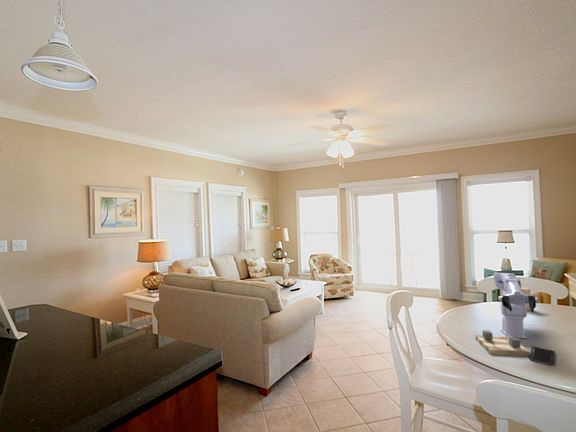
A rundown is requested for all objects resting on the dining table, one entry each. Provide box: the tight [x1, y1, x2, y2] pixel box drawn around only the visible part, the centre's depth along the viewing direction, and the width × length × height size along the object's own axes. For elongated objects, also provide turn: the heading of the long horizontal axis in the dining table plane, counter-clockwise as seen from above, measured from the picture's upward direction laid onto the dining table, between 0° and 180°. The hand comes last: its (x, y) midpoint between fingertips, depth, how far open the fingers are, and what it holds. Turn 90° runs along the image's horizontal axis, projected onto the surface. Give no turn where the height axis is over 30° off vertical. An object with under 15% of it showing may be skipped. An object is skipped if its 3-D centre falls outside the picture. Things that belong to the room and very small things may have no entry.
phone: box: [528, 346, 556, 366], centre depth 127 cm, size 8×1×15 cm
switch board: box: [475, 334, 531, 357], centre depth 137 cm, size 16×15×2 cm
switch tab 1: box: [482, 330, 493, 340], centre depth 142 cm, size 3×3×3 cm
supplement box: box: [521, 286, 531, 312], centre depth 190 cm, size 8×5×13 cm, turn 30°
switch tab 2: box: [509, 337, 521, 347], centre depth 133 cm, size 3×3×3 cm
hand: (521, 309), depth 132 cm, fingers open, 7 cm apart
